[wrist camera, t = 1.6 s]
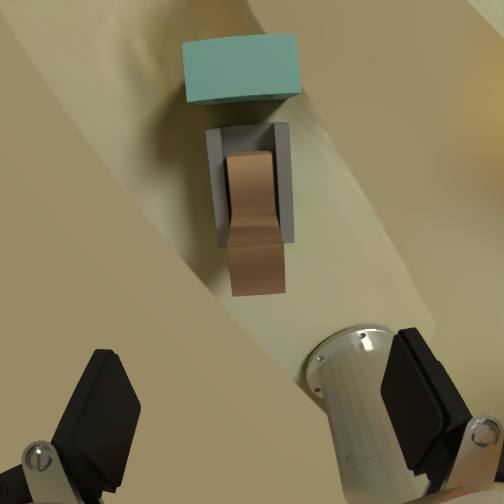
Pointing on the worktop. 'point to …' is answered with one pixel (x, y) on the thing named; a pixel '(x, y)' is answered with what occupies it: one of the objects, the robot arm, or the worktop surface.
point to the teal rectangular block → (241, 69)
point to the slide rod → (254, 226)
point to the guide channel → (251, 140)
